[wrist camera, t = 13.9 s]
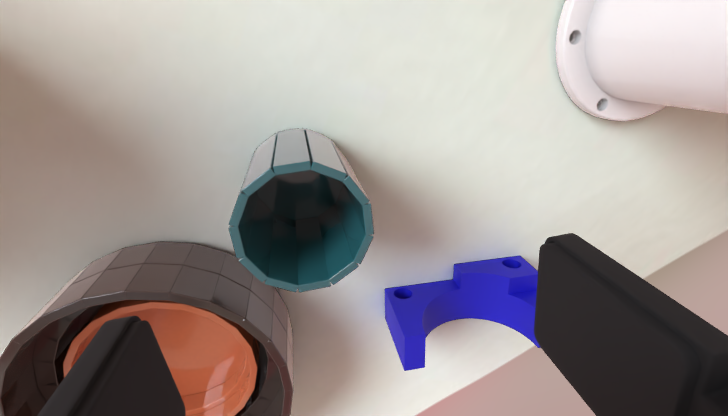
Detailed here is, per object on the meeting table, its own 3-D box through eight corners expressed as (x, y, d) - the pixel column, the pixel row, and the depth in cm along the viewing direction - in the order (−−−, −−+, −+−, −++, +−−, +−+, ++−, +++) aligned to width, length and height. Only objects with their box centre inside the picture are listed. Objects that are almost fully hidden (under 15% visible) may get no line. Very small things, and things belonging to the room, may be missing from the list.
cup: (341, 121, 26) (365, 152, 18) (353, 213, 29) (379, 277, 21) (238, 135, 25) (213, 175, 17) (260, 229, 28) (248, 302, 20)
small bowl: (241, 256, 28) (234, 286, 25) (273, 378, 33) (271, 418, 29) (64, 288, 27) (29, 324, 23) (125, 411, 32) (103, 457, 28)
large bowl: (268, 220, 28) (263, 265, 22) (307, 393, 34) (310, 463, 28) (9, 264, 26) (-76, 327, 20) (104, 439, 32) (62, 525, 26)
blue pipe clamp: (519, 255, 33) (565, 295, 28) (513, 299, 35) (556, 344, 29) (384, 273, 31) (404, 319, 26) (385, 318, 33) (404, 370, 27)
